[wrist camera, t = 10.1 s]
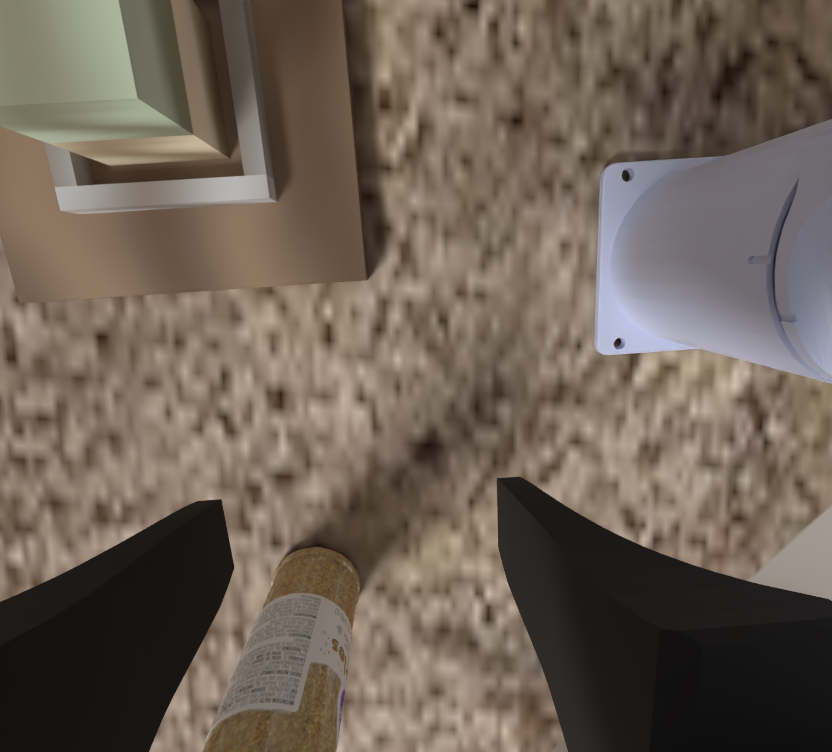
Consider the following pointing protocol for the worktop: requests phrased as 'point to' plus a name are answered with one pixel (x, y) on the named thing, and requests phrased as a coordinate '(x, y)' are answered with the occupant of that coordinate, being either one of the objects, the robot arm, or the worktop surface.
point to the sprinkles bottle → (293, 661)
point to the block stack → (112, 79)
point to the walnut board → (207, 179)
